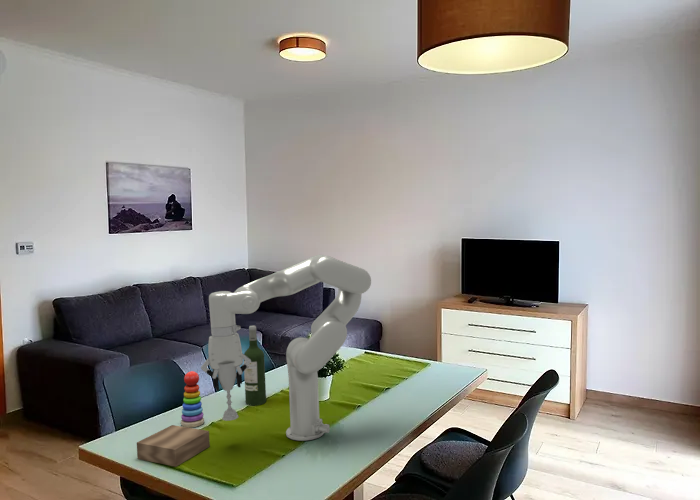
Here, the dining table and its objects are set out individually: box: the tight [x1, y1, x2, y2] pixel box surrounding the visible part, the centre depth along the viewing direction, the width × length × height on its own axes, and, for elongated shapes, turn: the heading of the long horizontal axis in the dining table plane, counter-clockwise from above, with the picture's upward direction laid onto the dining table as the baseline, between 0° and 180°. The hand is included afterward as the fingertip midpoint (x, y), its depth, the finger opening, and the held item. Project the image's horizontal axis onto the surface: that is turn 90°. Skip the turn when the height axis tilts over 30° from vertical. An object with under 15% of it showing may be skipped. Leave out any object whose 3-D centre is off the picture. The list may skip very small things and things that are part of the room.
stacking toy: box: [180, 370, 205, 428], centre depth 192 cm, size 8×8×19 cm
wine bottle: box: [243, 325, 267, 407], centre depth 212 cm, size 8×8×30 cm
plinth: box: [136, 424, 211, 468], centre depth 168 cm, size 15×15×5 cm
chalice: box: [217, 362, 239, 422], centre depth 171 cm, size 7×7×18 cm
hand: (228, 387), depth 171 cm, fingers closed on chalice, 6 cm apart
